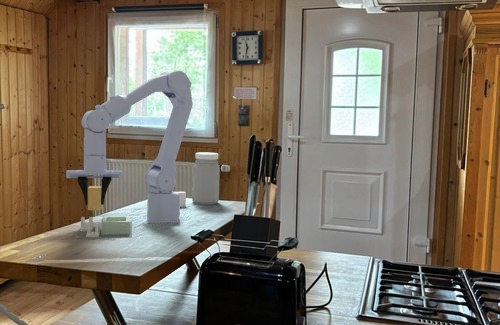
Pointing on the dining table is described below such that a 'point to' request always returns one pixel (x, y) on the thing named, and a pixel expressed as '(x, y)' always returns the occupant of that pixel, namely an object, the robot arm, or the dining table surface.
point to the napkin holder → (182, 199)
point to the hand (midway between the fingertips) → (94, 204)
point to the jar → (206, 179)
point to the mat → (83, 234)
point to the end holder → (115, 225)
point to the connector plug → (94, 197)
